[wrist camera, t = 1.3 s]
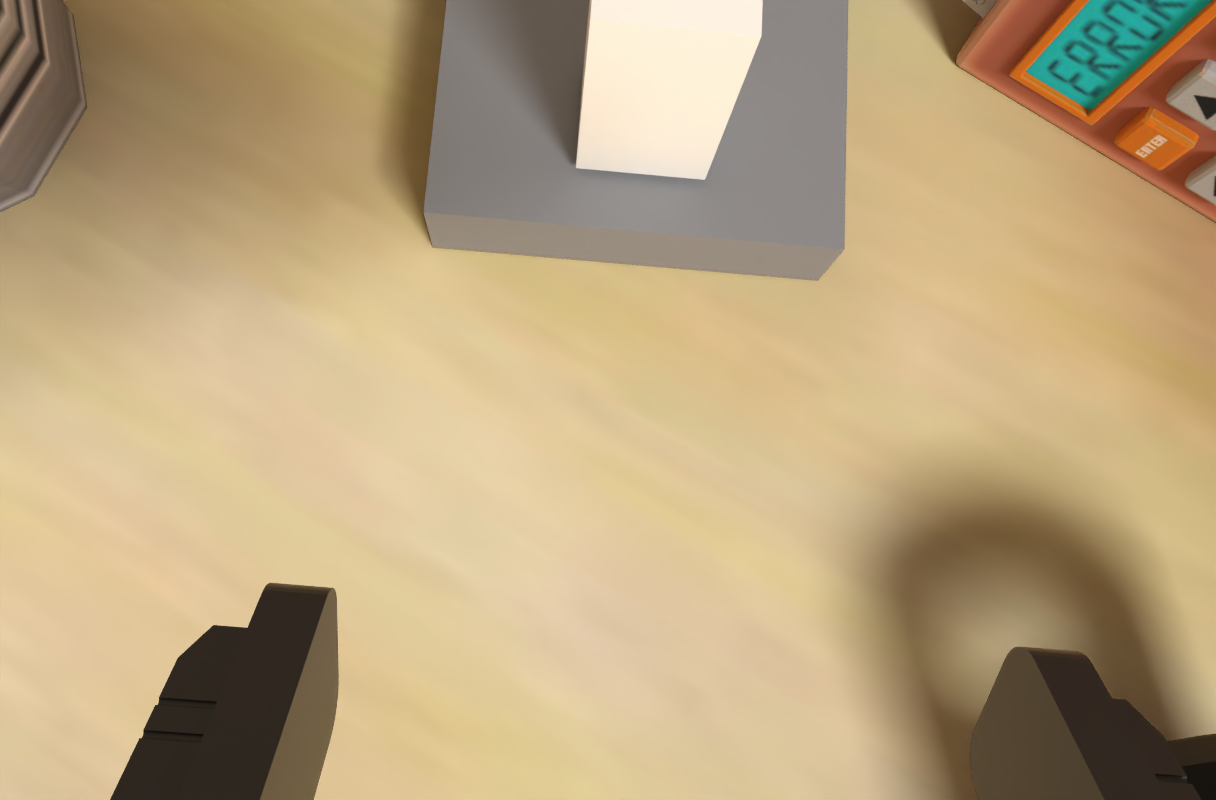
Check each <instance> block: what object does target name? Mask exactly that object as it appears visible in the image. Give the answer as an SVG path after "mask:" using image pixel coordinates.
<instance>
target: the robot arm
mask: <svg viewBox="0 0 1216 800" xmlns="http://www.w3.org/2000/svg"><path fill="white" fill-rule="evenodd" d="M337 698H338V633H337V597H336V592H335V589H334V588H327V587H315V586H302V585H290V584H278V583H269V584H267V585H266V587H265V588H264V590H263V592H262V594H261V597H260V599H259V601H258V604H257V606H256V609H255V611H254V614H253V616H252V618H251V621H250V623H249V626H248V628H242V627H229V626H217V625H213V626H212V627H211V628H210V629H209V630H208V631H207V632H205V633H204V634H203V635H202V636H201V637H200V638H199V639H198V640H197V641H196V642H195V643H194V644H192V645H191V646H190V647H189V648H188V649H187V650H186V651H185V652H184V653H183V654H182V655H181V656H179V657H178V659H177V661H176V663H175V665H174V667H173V669H172V671H171V674H170V676H169V678H168V680H167V682H166V684H165V686H164V688H163V690H162V692H161V695H160V697H159V703H158V705H155V707H154V709H153V711H152V713H151V715H150V718H149V720H148V722H147V724H146V726H145V728H144V733H143V737H142V738H139V741H138V743H137V745H136V747H135V749H134V751H133V753H132V755H131V757H130V759H129V762H128V764H127V766H126V768H125V770H124V772H123V774H122V776H121V778H120V780H119V782H118V785H117V787H116V789H115V791H114V793H113V795H112V797H111V799H110V800H314V796H315V793H316V789H317V785H318V782H319V778H320V775H321V771H322V767H323V764H324V760H325V757H326V753H327V749H328V746H329V742H330V738H331V735H332V730H333V725H334V720H335V714H336V707H337ZM970 770H971V776H972V780H973V784H974V787H975V790H976V793H977V795H978V798H979V800H1201V798H1200V797H1199V795H1198V793H1197V792H1196V790H1195V788H1194V787H1193V785H1192V784H1188V783H1187V775H1186V773H1185V771H1184V770H1183V768H1182V766H1181V765H1180V763H1179V761H1178V760H1177V758H1176V756H1175V755H1174V753H1173V751H1172V750H1171V748H1170V746H1169V745H1168V743H1167V741H1166V740H1165V738H1164V736H1163V735H1162V734H1161V733H1160V732H1159V731H1158V730H1157V729H1156V728H1154V727H1153V726H1152V725H1151V724H1150V723H1149V722H1148V721H1147V720H1146V719H1145V718H1144V717H1143V716H1142V715H1141V714H1140V713H1139V712H1138V711H1137V710H1136V709H1135V708H1134V707H1133V706H1132V705H1131V704H1130V703H1129V702H1127V701H1126V700H1122V699H1112V698H1111V696H1110V695H1109V693H1108V691H1107V689H1106V687H1105V686H1104V684H1103V682H1102V680H1101V679H1100V677H1099V675H1098V673H1097V672H1096V670H1095V668H1094V666H1093V664H1092V663H1091V661H1090V660H1089V659H1088V658H1087V657H1086V656H1085V655H1084V654H1082V653H1080V652H1078V651H1066V650H1053V649H1041V648H1029V647H1015V648H1013V649H1012V650H1011V651H1010V652H1009V653H1008V655H1007V656H1006V658H1005V660H1004V663H1003V665H1002V667H1001V670H1000V672H999V674H998V676H997V679H996V681H995V683H994V686H993V688H992V690H991V692H990V695H989V697H988V699H987V702H986V704H985V706H984V708H983V711H982V713H981V715H980V717H979V720H978V722H977V724H976V727H975V729H974V732H973V734H972V739H971V745H970Z"/></svg>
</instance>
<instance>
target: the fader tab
mask: <svg viewBox="0 0 1216 800" xmlns="http://www.w3.org/2000/svg"><path fill="white" fill-rule="evenodd" d="M762 8H763V0H590V2H589V13H588V24H587V35H586V45H585V56H584V67H583V80H582V94H581V107H580V120H579V133H578V146H577V159H576V168H580V169H591V170H602V171H613V172H624V173H635V174H646V175H657V176H668V177H679V178H690V179H701V180H705V178H706V176H707V173H708V171H709V168H710V166H711V163H712V161H713V158H714V156H715V153H716V150H717V148H718V145H719V143H720V140H721V138H722V135H723V133H724V130H725V128H726V125H727V122H728V120H729V117H730V115H731V112H732V110H733V107H734V105H735V102H736V100H737V97H738V94H739V92H740V89H741V87H742V84H743V82H744V79H745V77H746V74H747V72H748V69H749V66H750V64H751V61H752V59H753V56H754V54H755V51H756V49H757V46H758V44H759V41H760V38H761V36H762Z"/></svg>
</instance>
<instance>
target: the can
mask: <svg viewBox="0 0 1216 800" xmlns="http://www.w3.org/2000/svg"><path fill="white" fill-rule="evenodd" d="M86 108H87V104H86V97H85V90H84V84H83V77H82V70H81V63H80V57H79V50H78V43H77V37H76V30H75V23H74V16H73V14H72V13H71V11H70V10H69V9H68V7H67V6H66V5H65V3H64V2H63V1H62V0H0V212H2V211H4V210H6V209H8V208H10V207H12V206H14V205H16V204H18V203H20V202H22V201H24V200H26V199H28V198H30V197H32V196H34V195H35V193H36V192H37V190H38V188H39V187H40V185H41V183H42V182H43V180H44V178H45V177H46V175H47V173H48V172H49V170H50V168H51V166H52V165H53V163H54V161H55V160H56V158H57V156H58V155H59V153H60V151H61V150H62V148H63V146H64V145H65V143H66V141H67V140H68V138H69V136H70V135H71V133H72V131H73V130H74V128H75V126H76V125H77V123H78V121H79V120H80V118H81V116H82V115H83V113H84V111H85V110H86Z"/></svg>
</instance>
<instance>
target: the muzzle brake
mask: <svg viewBox="0 0 1216 800" xmlns="http://www.w3.org/2000/svg"><path fill="white" fill-rule="evenodd" d="M1167 743H1168V745H1169V746H1170V748H1171V750H1172V751H1173V753H1174V755H1175V756H1176V758H1177V760H1178V761H1179V763H1180V765H1181V766H1182V768H1183V770H1184V771H1185V773H1186V775H1187V783H1188V784H1192V785H1193V787H1194V788H1195V790H1196V792H1197V793H1198V795H1199V797H1200V798H1201V800H1216V734H1210V735H1202V736H1196V737H1190V738H1184V739H1179V740H1173V741H1167Z"/></svg>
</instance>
